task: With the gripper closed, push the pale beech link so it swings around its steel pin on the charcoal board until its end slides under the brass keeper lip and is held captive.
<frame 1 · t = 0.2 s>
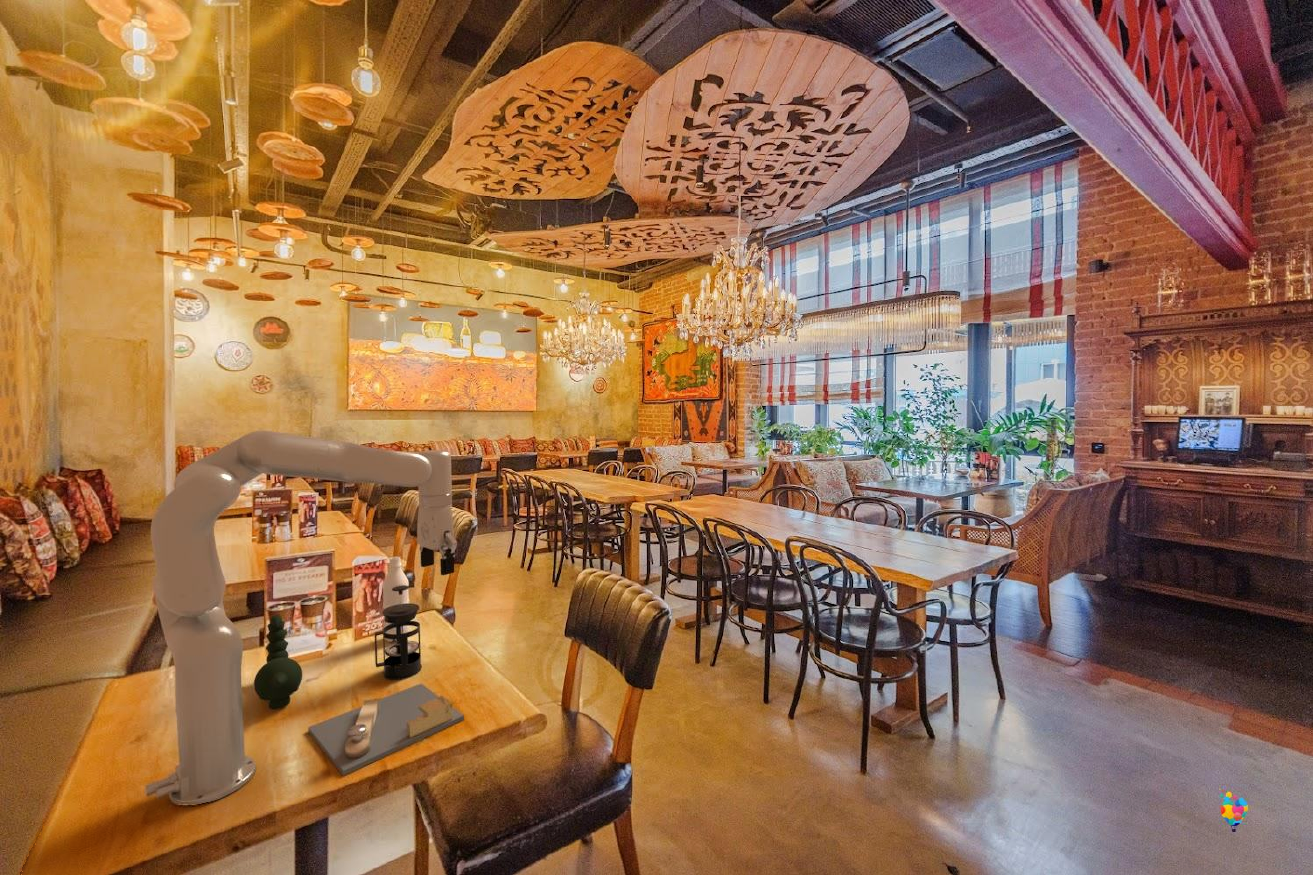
hand: (437, 569, 134), 31 cm above the table, tool pointing down, fingers open, 9 cm apart
beech link: (364, 726, 117), point 2 cm above the table, hinge at 60.0°
french press: (400, 672, 145), on the table
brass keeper: (425, 726, 121), resting on charcoal board
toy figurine: (279, 696, 133), on the table
steel pin: (358, 756, 110), resting on charcoal board
charcoal board: (387, 725, 121), on the table
water bottle: (397, 639, 165), on the table
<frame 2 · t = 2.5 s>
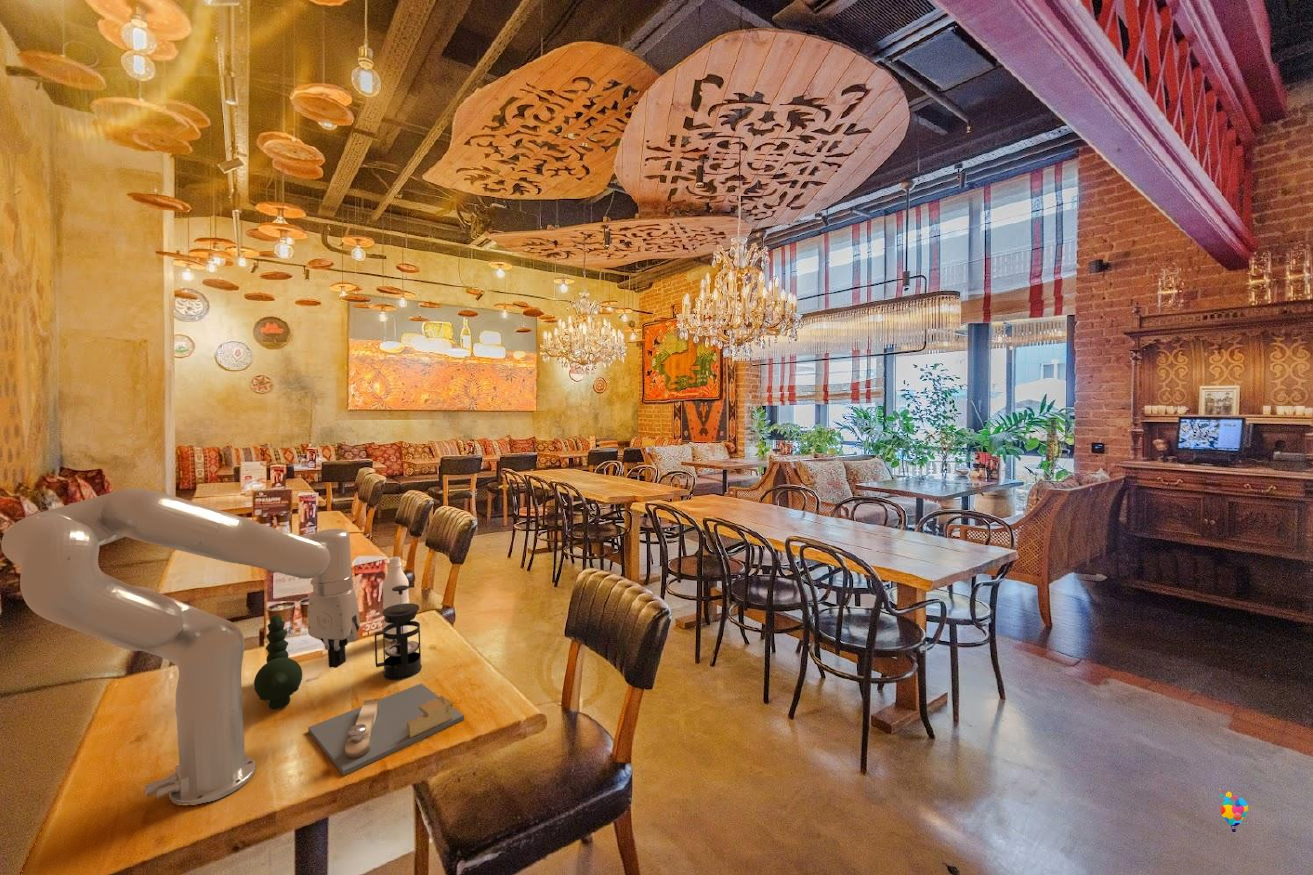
hand: (337, 664, 123), 13 cm above the table, tool pointing down, fingers closed
nothing on the table moved.
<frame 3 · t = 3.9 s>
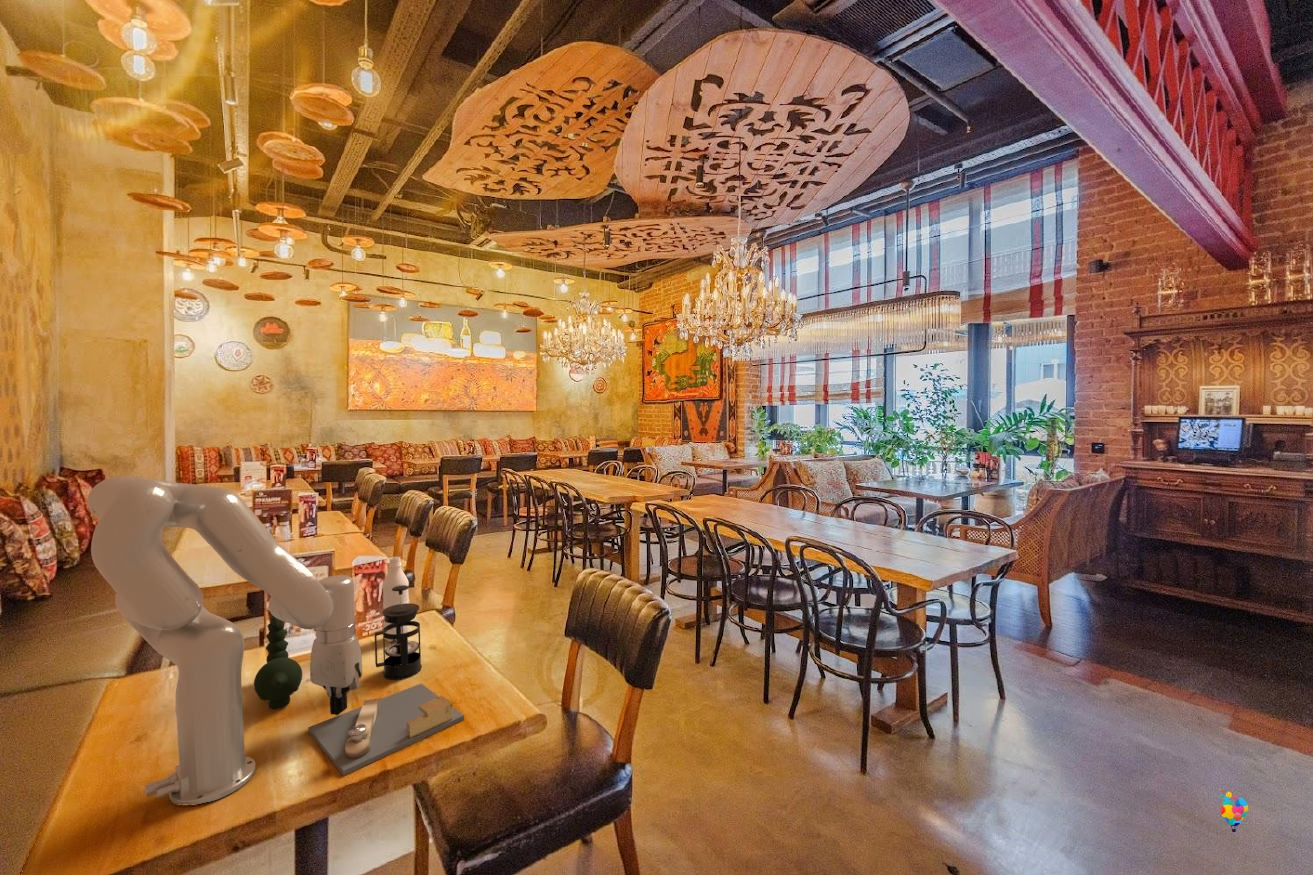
hand: (339, 711, 123), 2 cm above the table, tool pointing down, fingers closed
nothing on the table moved.
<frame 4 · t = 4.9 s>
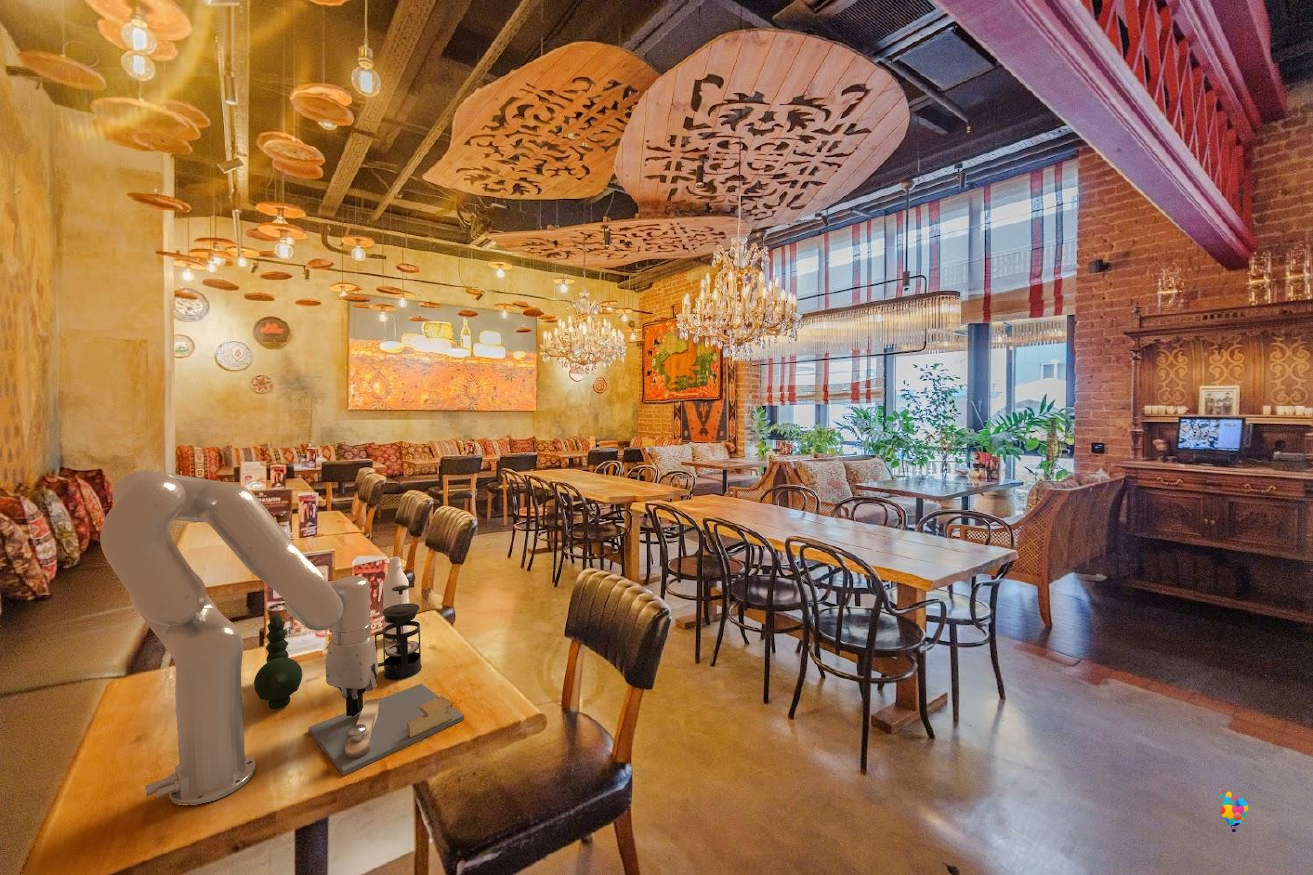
hand: (354, 712, 122), 2 cm above the table, tool pointing down, fingers closed
beech link: (364, 726, 117), point 2 cm above the table, hinge at 58.9°, touching gripper
everything else where it was.
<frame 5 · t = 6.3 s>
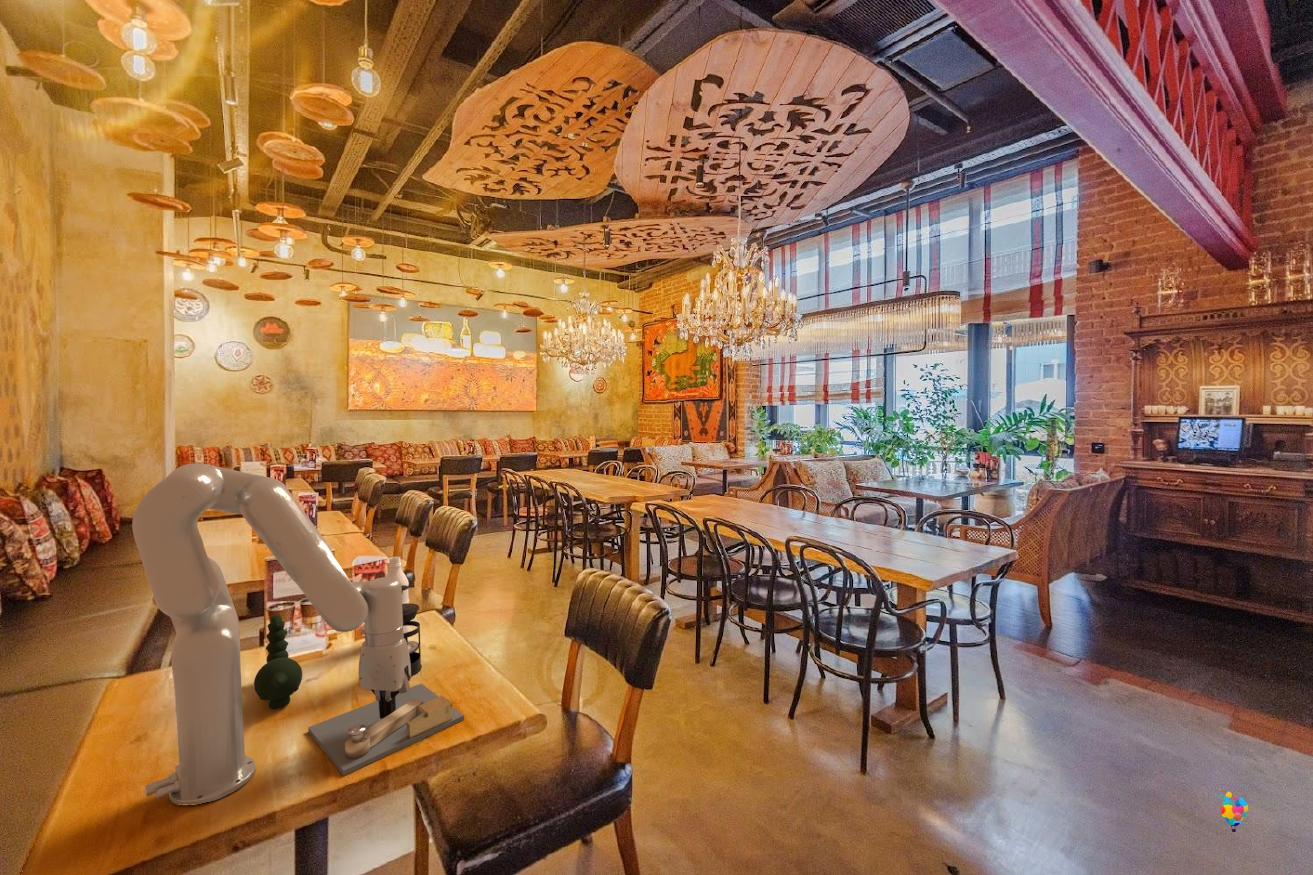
hand: (387, 715, 121), 2 cm above the table, tool pointing down, fingers closed
beech link: (385, 726, 117), point 2 cm above the table, hinge at 20.5°, touching gripper
everything else where it was.
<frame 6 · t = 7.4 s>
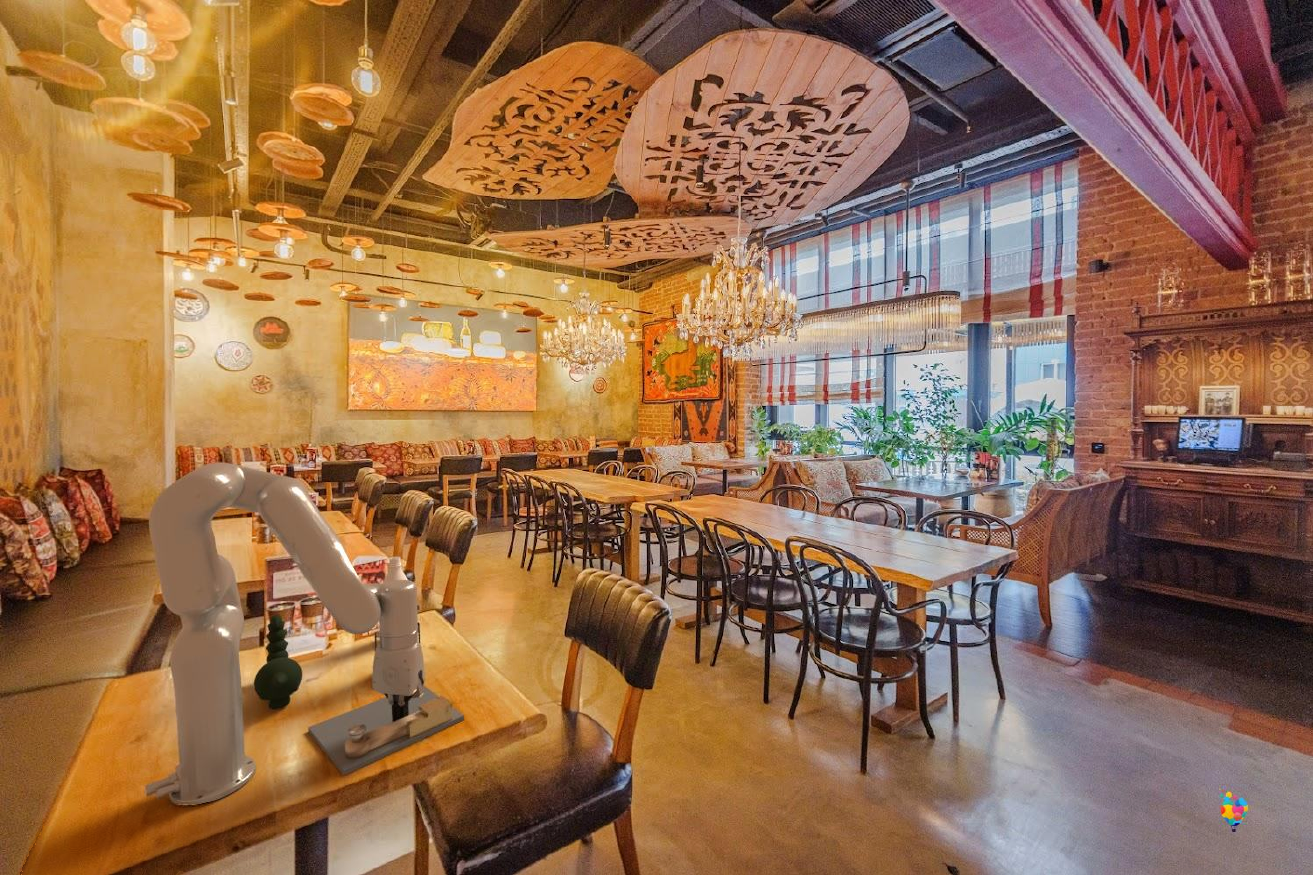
hand: (400, 719, 120), 2 cm above the table, tool pointing down, fingers closed
beech link: (392, 730, 115), point 2 cm above the table, hinge at -1.6°, touching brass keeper, gripper
everything else where it was.
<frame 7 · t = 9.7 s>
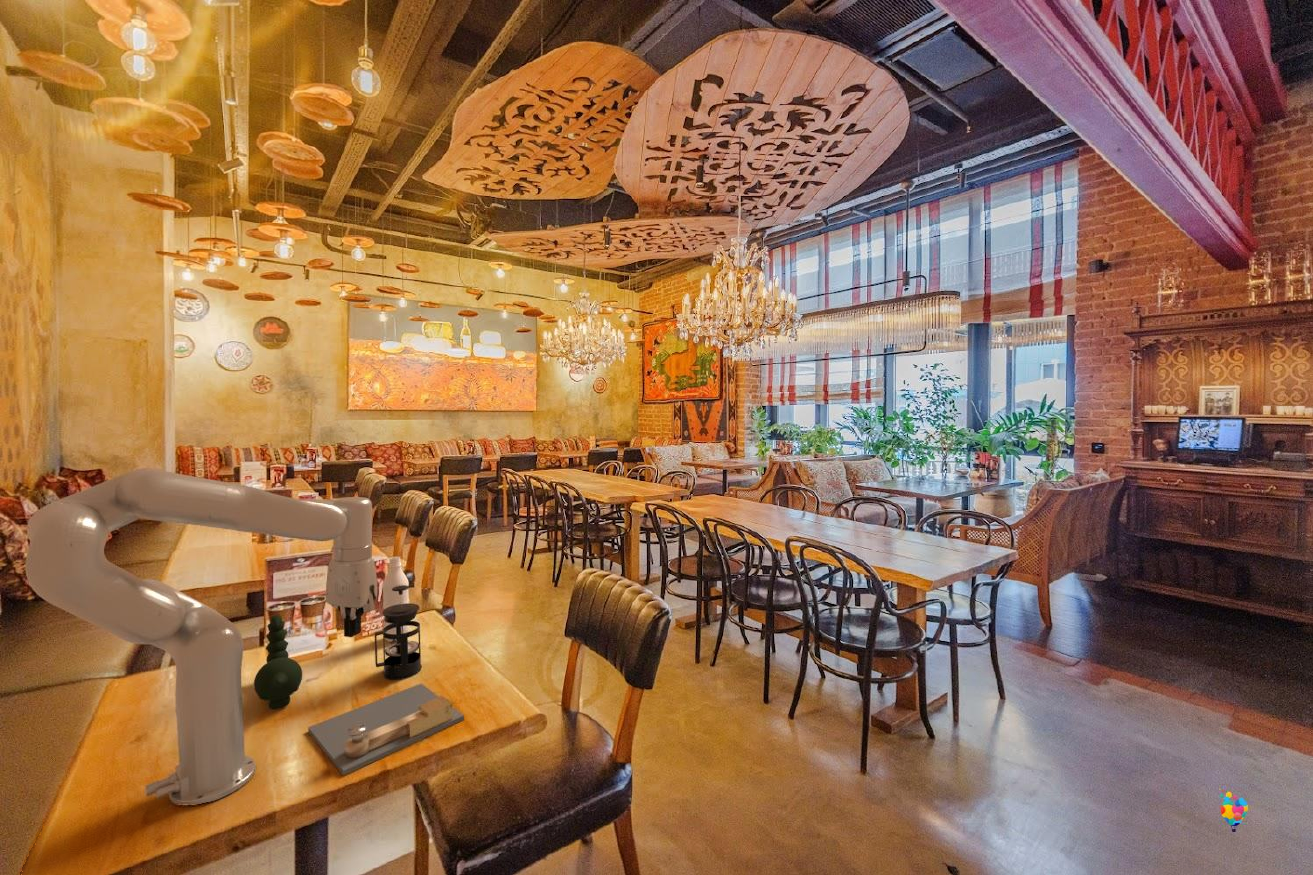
hand: (352, 634, 122), 20 cm above the table, tool pointing down, fingers closed
beech link: (392, 730, 115), point 2 cm above the table, hinge at -1.6°, touching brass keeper
everything else where it was.
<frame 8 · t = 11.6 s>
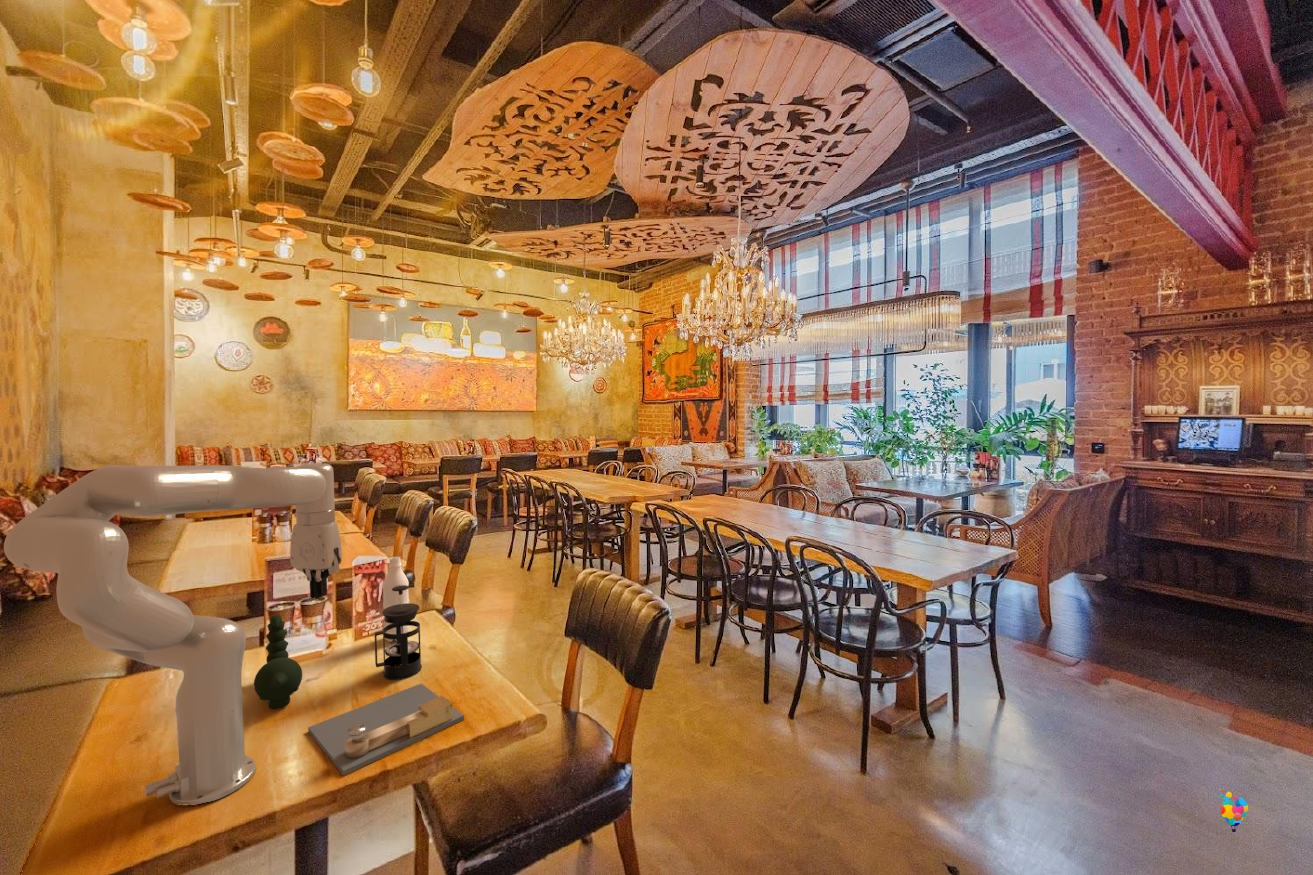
hand: (318, 596, 125), 27 cm above the table, tool pointing down, fingers closed
nothing on the table moved.
at the end: beech link at -2° (first picture: +60°); water bottle moved 0.2 cm from its start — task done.
